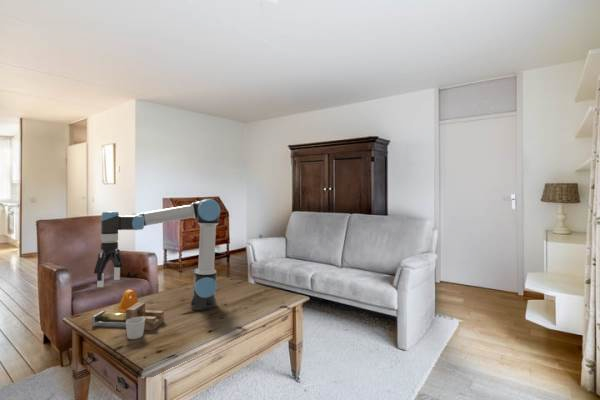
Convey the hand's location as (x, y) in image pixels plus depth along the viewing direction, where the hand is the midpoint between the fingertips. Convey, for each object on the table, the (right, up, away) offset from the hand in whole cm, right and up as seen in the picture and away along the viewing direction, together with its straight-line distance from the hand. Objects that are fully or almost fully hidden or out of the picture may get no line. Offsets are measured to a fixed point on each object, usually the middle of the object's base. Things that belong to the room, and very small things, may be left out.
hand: (109, 283), depth 165 cm
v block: (+3, -21, 0) cm, 21 cm away
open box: (+19, -21, -1) cm, 28 cm away
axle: (+4, -20, 0) cm, 20 cm away
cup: (+21, -22, -13) cm, 33 cm away
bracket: (+2, -21, +17) cm, 27 cm away
